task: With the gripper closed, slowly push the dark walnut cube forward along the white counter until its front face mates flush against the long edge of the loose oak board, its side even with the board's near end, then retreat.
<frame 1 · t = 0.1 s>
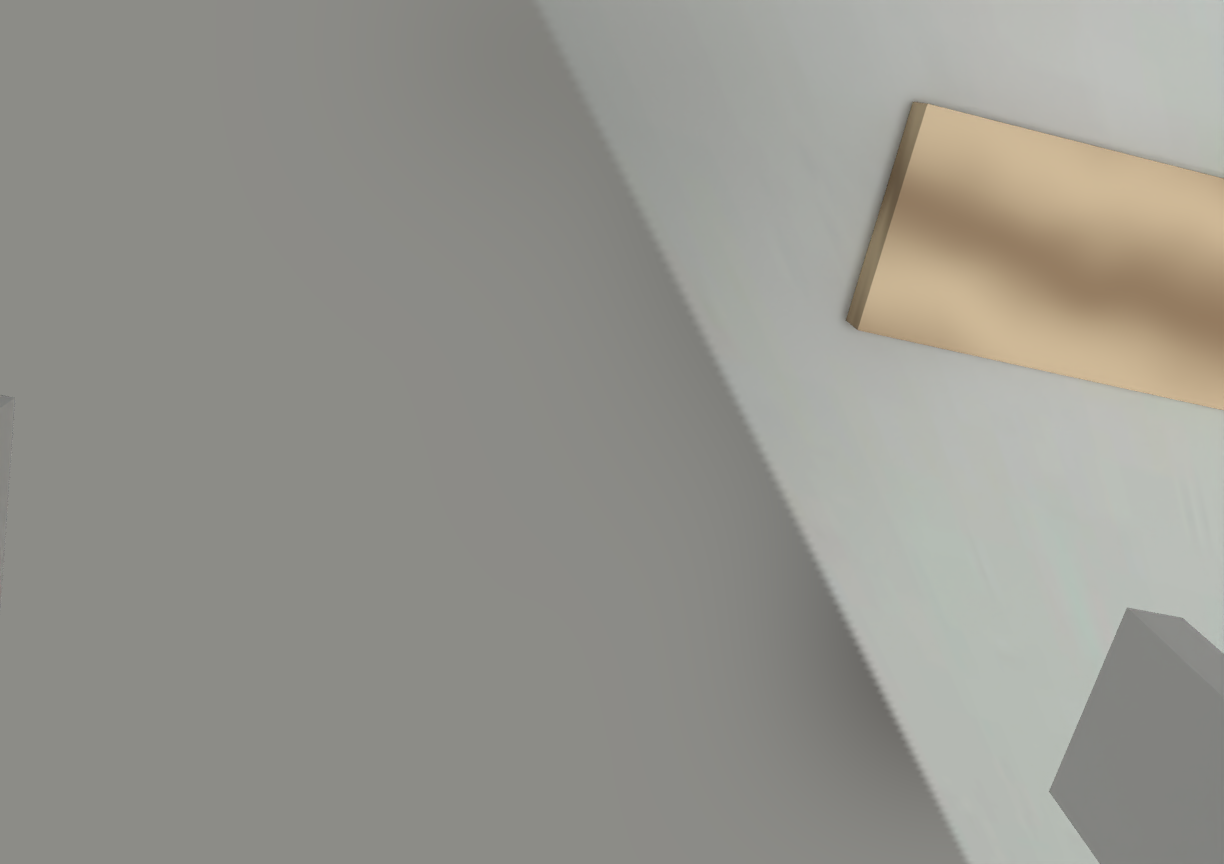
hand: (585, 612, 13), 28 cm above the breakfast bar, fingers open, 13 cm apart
oak board: (1121, 270, 42), on the breakfast bar
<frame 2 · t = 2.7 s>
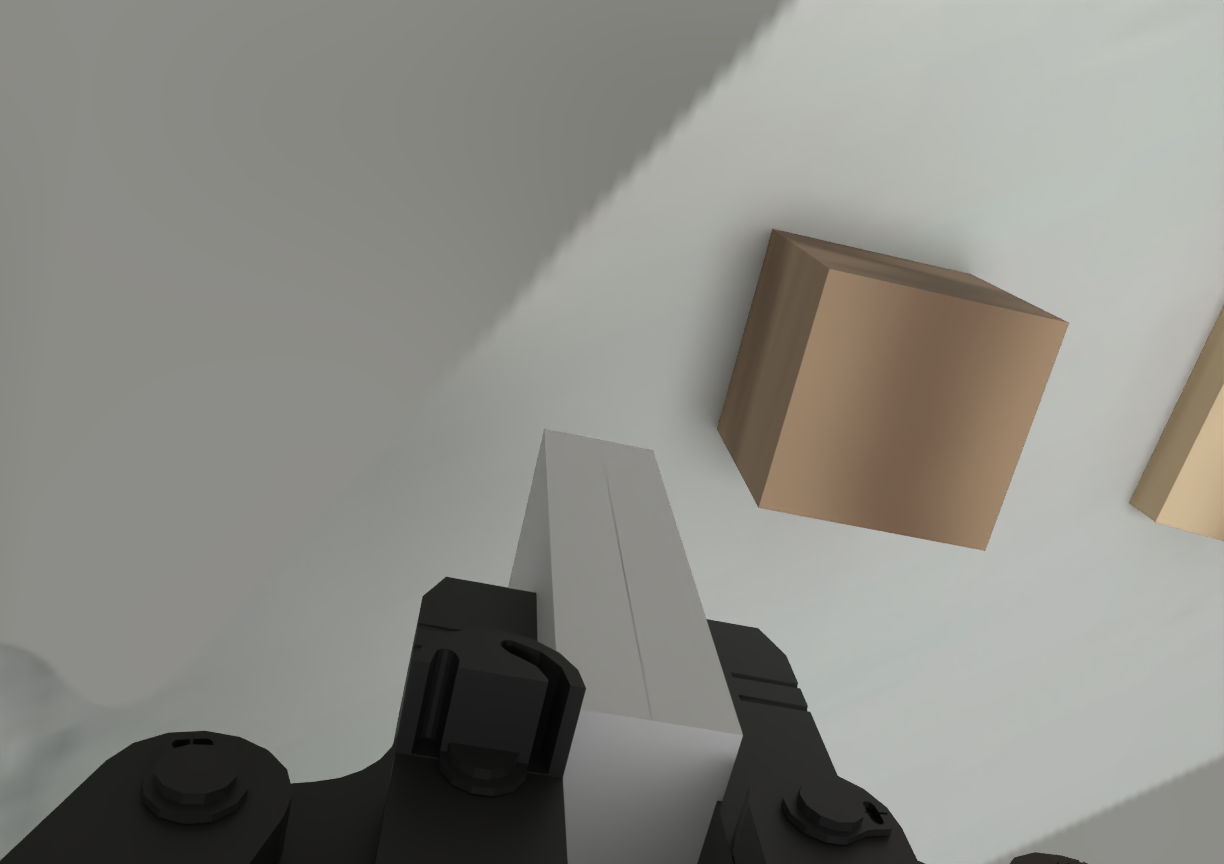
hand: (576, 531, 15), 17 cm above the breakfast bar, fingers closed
walnut block: (841, 352, 32), on the breakfast bar
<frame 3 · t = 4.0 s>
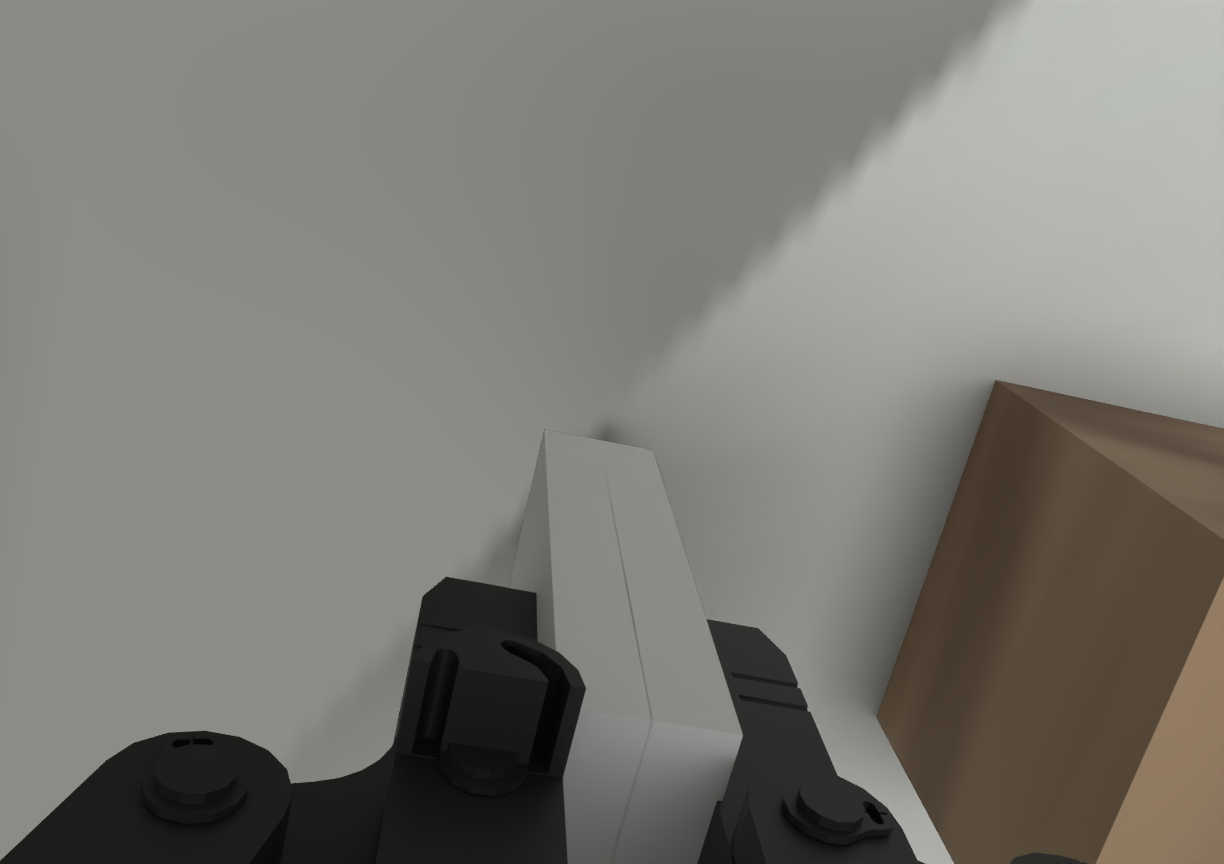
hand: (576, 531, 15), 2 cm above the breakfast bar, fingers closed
walnut block: (1101, 587, 18), on the breakfast bar
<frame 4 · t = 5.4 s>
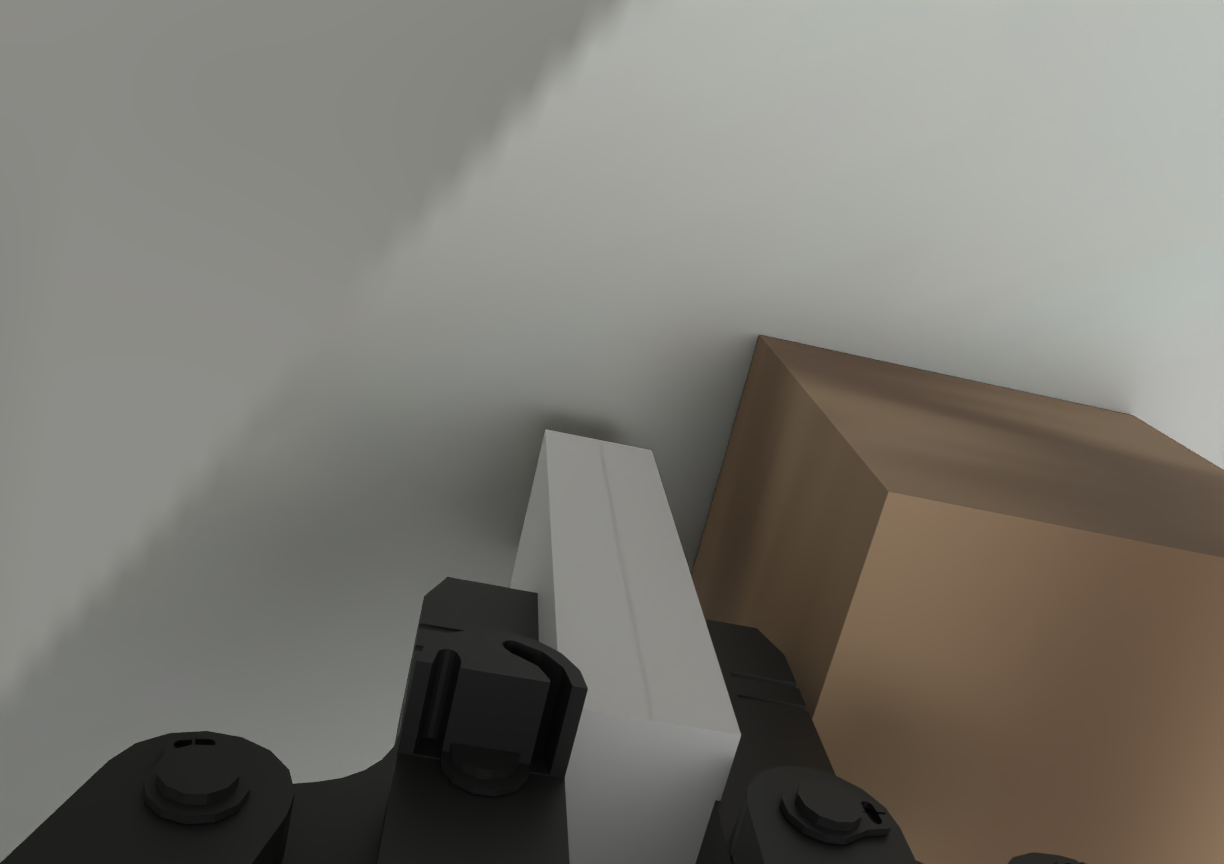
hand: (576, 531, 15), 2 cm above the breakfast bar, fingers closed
walnut block: (889, 556, 17), on the breakfast bar, touching gripper
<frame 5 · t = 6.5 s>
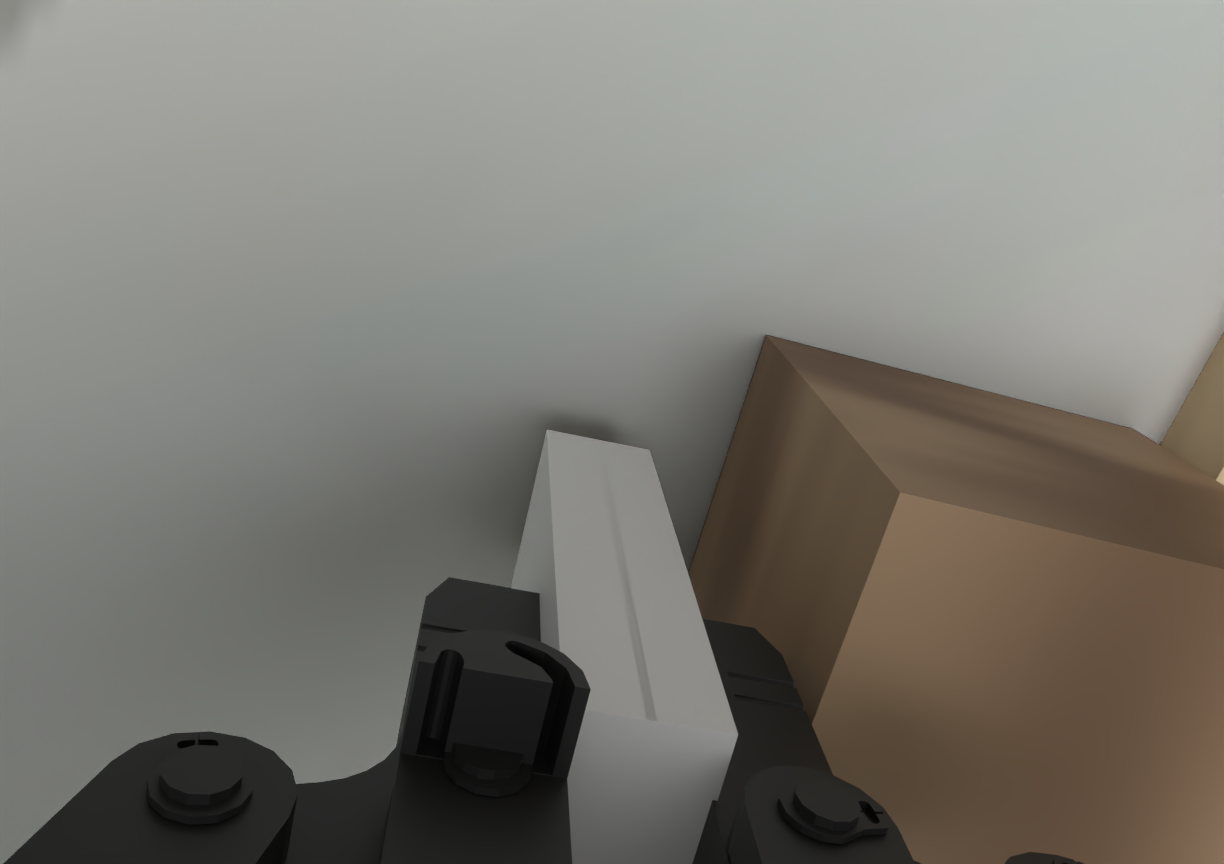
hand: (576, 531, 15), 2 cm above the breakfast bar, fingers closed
walnut block: (887, 561, 17), on the breakfast bar, touching gripper
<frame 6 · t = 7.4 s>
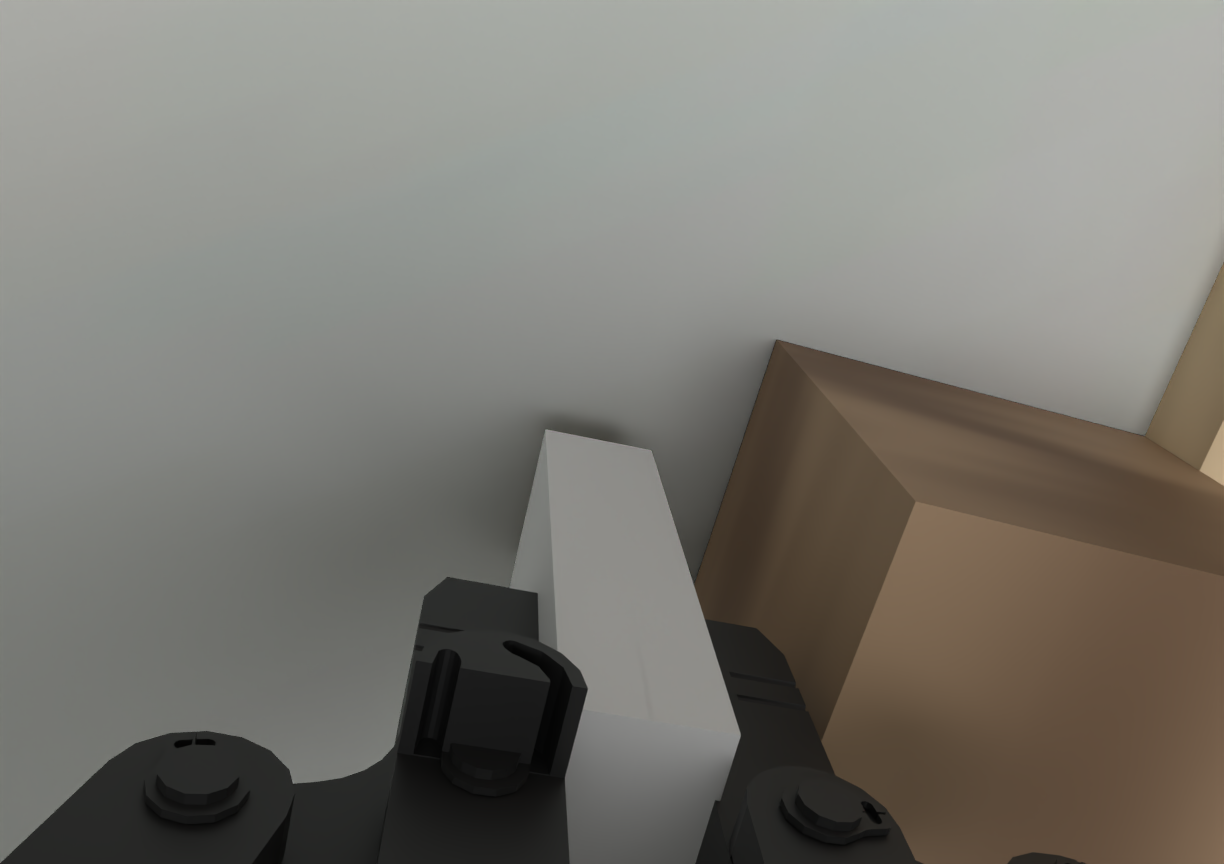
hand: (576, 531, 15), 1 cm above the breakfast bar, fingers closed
walnut block: (895, 567, 17), on the breakfast bar, touching gripper
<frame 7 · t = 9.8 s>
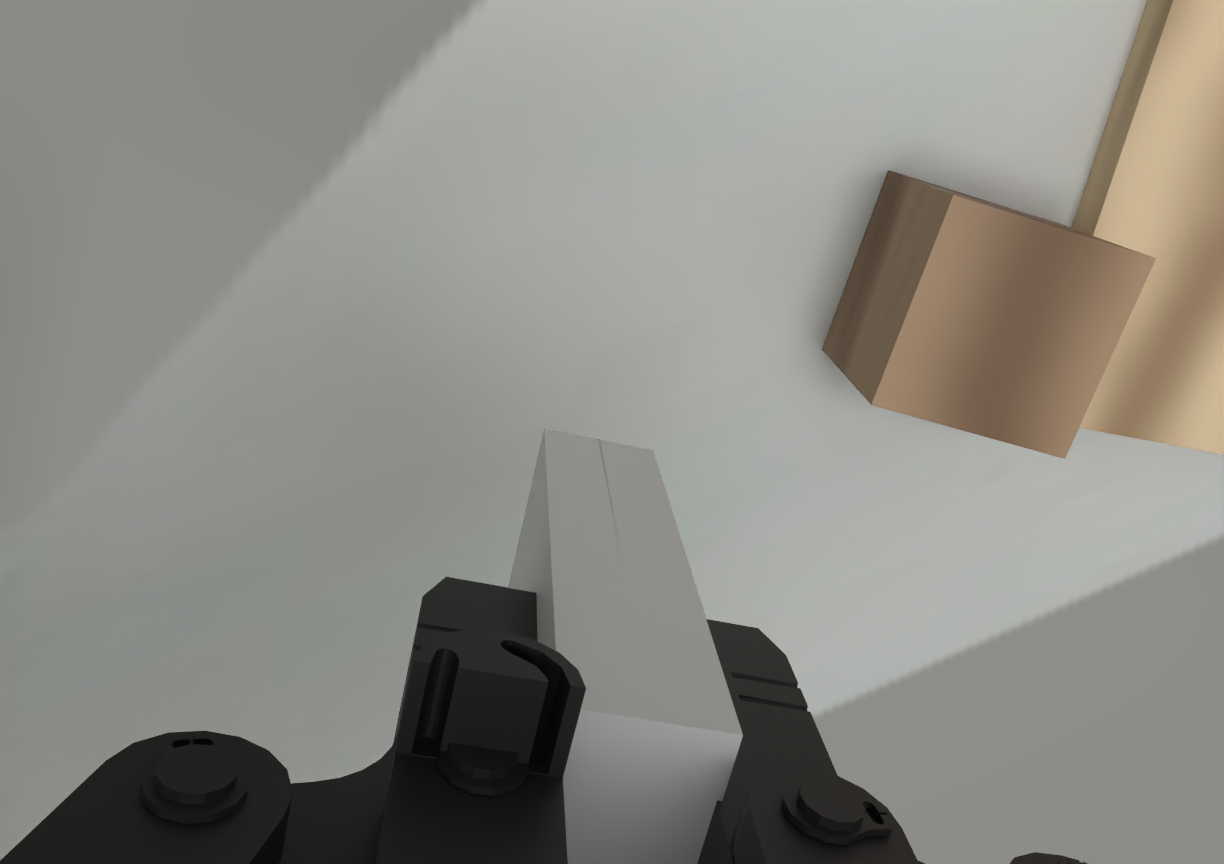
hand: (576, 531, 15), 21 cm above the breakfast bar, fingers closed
walnut block: (938, 287, 36), on the breakfast bar
oak board: (1221, 127, 35), on the breakfast bar
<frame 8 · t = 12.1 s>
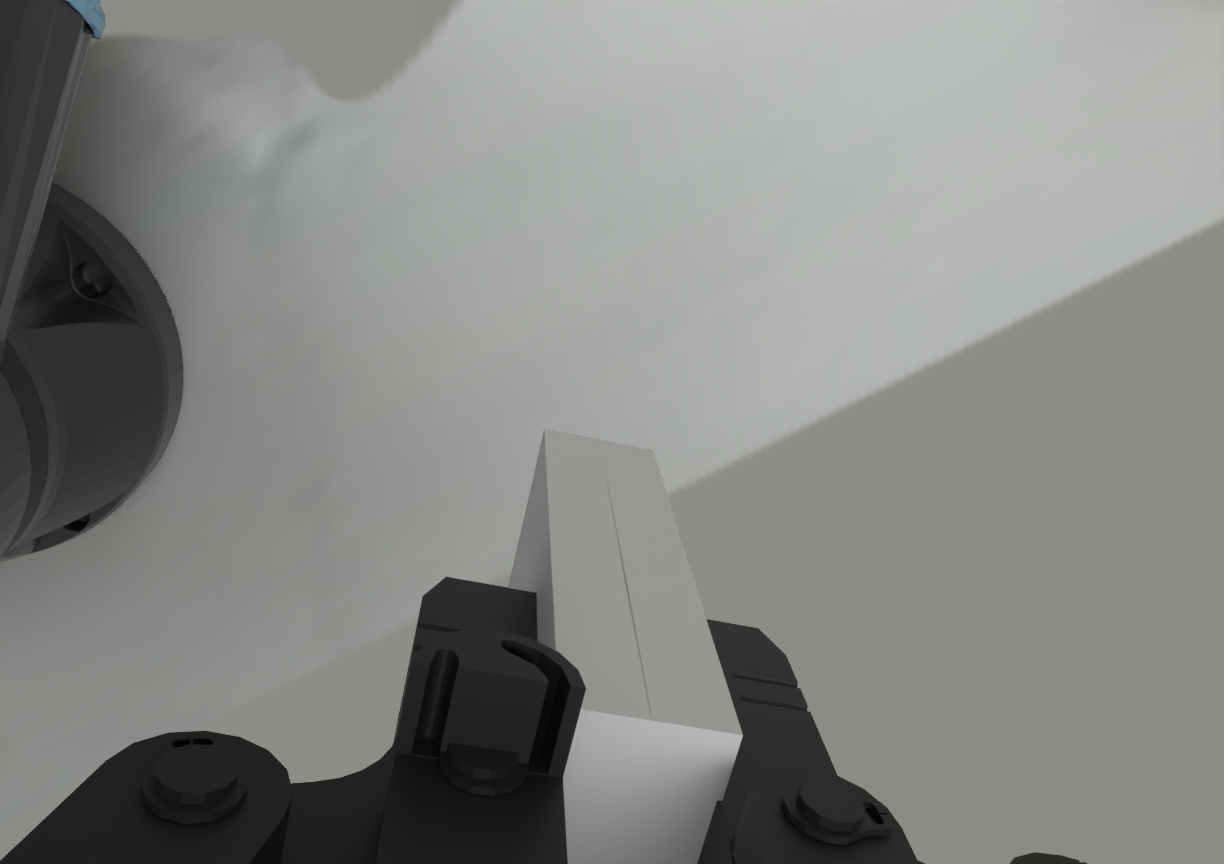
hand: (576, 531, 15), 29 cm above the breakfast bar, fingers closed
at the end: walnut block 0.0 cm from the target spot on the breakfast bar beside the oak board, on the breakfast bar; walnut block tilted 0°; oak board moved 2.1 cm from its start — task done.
